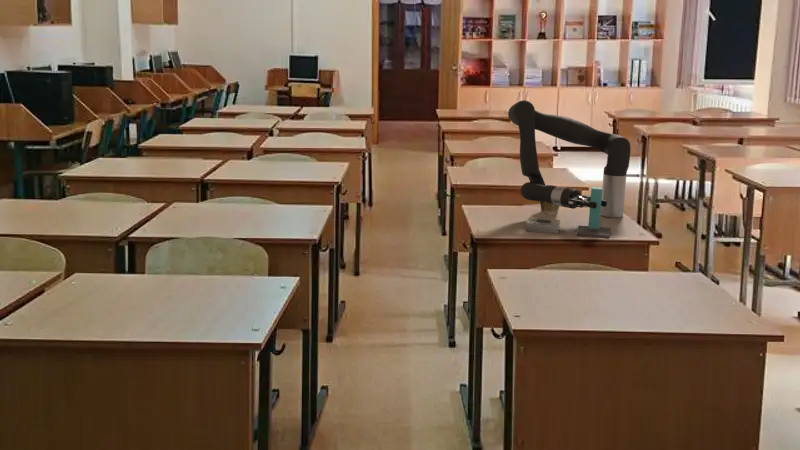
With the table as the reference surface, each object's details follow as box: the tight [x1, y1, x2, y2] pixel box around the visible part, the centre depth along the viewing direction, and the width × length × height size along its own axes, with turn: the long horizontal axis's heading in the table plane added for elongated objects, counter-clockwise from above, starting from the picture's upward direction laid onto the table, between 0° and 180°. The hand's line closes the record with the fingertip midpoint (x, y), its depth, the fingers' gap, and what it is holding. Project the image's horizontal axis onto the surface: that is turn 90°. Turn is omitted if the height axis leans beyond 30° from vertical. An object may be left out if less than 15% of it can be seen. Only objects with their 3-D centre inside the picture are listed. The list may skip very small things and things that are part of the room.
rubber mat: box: [576, 225, 611, 239], centre depth 354 cm, size 14×12×1 cm
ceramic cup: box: [539, 201, 560, 214], centre depth 390 cm, size 13×10×10 cm
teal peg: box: [587, 186, 603, 229], centre depth 352 cm, size 4×4×15 cm
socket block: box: [525, 216, 562, 234], centre depth 358 cm, size 12×12×3 cm
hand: (601, 204), depth 349 cm, fingers closed on teal peg, 5 cm apart
